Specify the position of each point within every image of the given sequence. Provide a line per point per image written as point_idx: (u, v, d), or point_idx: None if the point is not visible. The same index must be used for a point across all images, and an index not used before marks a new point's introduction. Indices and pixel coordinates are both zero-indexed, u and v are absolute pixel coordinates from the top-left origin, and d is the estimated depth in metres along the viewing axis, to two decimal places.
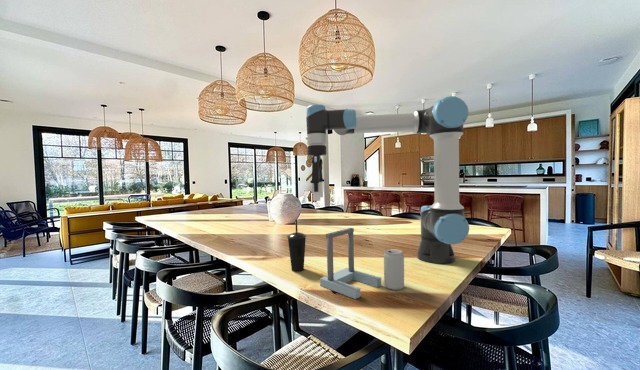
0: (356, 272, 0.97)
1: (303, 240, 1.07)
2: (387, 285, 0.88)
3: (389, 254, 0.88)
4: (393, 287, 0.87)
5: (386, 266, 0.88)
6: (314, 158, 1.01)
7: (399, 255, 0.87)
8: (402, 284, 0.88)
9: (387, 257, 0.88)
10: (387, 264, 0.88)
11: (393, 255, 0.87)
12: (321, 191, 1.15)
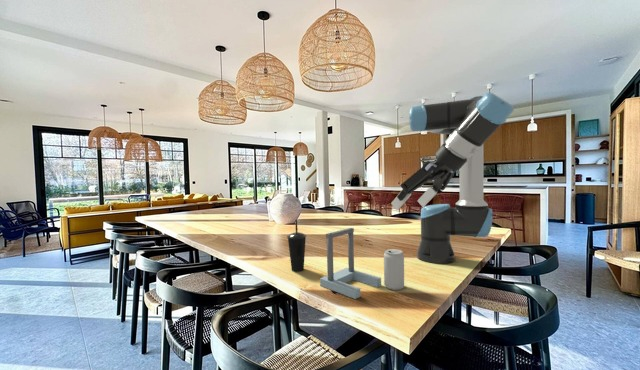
0: (356, 272, 0.97)
1: (303, 240, 1.07)
2: (387, 285, 0.88)
3: (389, 254, 0.88)
4: (393, 287, 0.87)
5: (386, 266, 0.88)
6: None
7: (399, 255, 0.87)
8: (402, 284, 0.88)
9: (387, 257, 0.88)
10: (387, 264, 0.88)
11: (393, 255, 0.87)
12: None
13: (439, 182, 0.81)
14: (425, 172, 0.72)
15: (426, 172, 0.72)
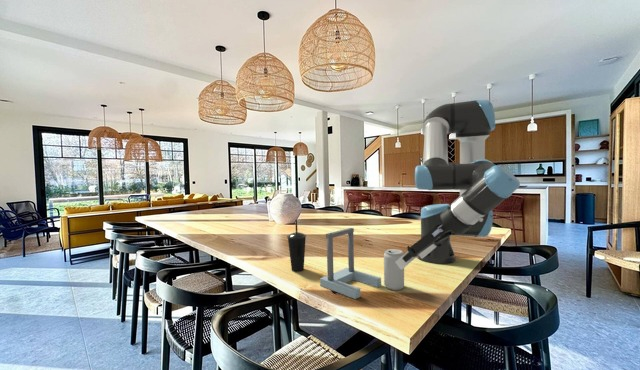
0: (356, 272, 0.97)
1: (303, 240, 1.07)
2: (387, 285, 0.88)
3: (389, 254, 0.88)
4: (393, 287, 0.87)
5: (386, 266, 0.88)
6: None
7: (399, 255, 0.87)
8: (402, 284, 0.88)
9: (387, 257, 0.88)
10: (387, 264, 0.88)
11: (393, 255, 0.87)
12: None
13: None
14: (433, 238, 0.72)
15: (434, 238, 0.72)
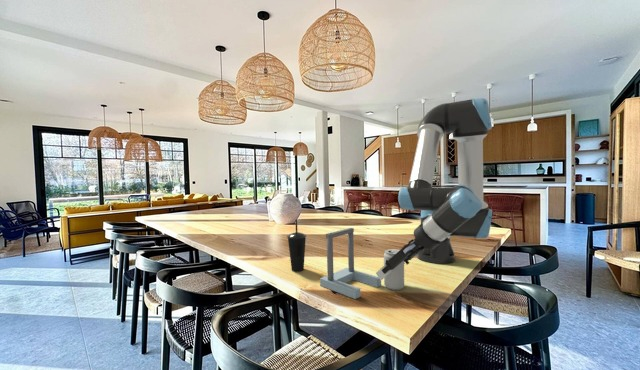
0: (356, 272, 0.97)
1: (303, 240, 1.07)
2: (387, 285, 0.88)
3: (389, 254, 0.88)
4: (393, 286, 0.87)
5: None
6: None
7: None
8: (402, 284, 0.88)
9: (387, 257, 0.88)
10: None
11: (393, 255, 0.87)
12: None
13: None
14: (403, 255, 0.80)
15: (404, 255, 0.80)
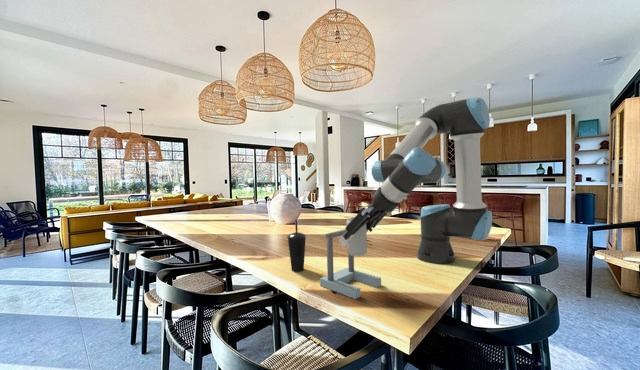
0: (356, 272, 0.97)
1: (303, 240, 1.07)
2: (349, 251, 0.88)
3: (351, 220, 0.87)
4: (355, 252, 0.86)
5: None
6: None
7: None
8: (364, 250, 0.87)
9: (348, 223, 0.87)
10: None
11: None
12: None
13: (373, 221, 0.87)
14: (361, 217, 0.80)
15: (362, 217, 0.80)
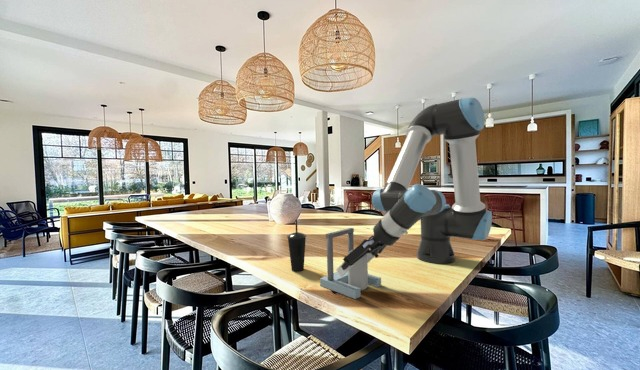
0: None
1: (303, 240, 1.07)
2: None
3: None
4: None
5: None
6: None
7: None
8: (365, 285, 0.88)
9: None
10: None
11: None
12: None
13: (376, 249, 0.89)
14: (363, 249, 0.79)
15: (363, 250, 0.79)
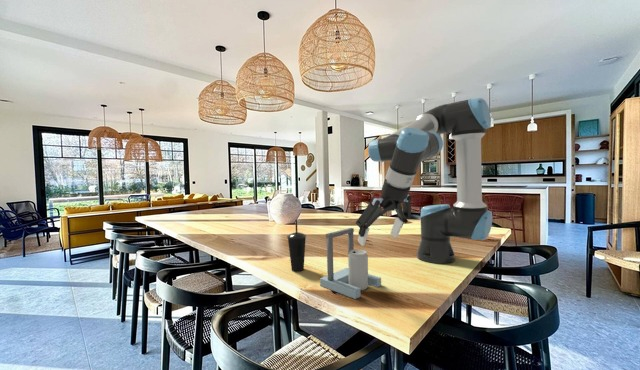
0: None
1: (303, 240, 1.07)
2: None
3: (352, 255, 0.88)
4: None
5: (349, 266, 0.89)
6: None
7: (362, 256, 0.87)
8: (365, 285, 0.88)
9: (350, 257, 0.88)
10: (351, 264, 0.88)
11: (356, 256, 0.87)
12: None
13: (399, 213, 0.85)
14: (372, 207, 0.78)
15: (373, 207, 0.78)
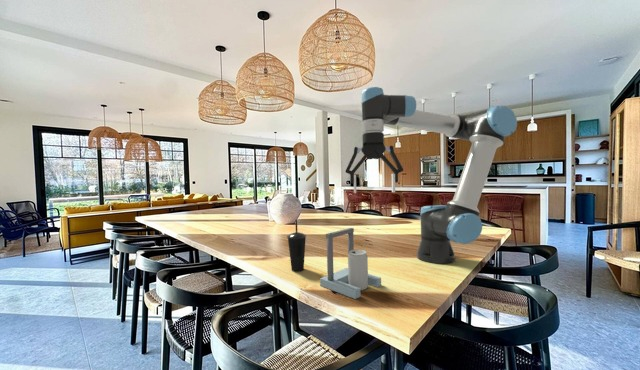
0: None
1: (303, 240, 1.07)
2: None
3: (352, 255, 0.88)
4: None
5: (349, 266, 0.89)
6: None
7: (362, 256, 0.87)
8: (365, 285, 0.88)
9: (350, 258, 0.88)
10: (350, 265, 0.88)
11: (355, 256, 0.87)
12: None
13: (386, 163, 0.97)
14: None
15: None
